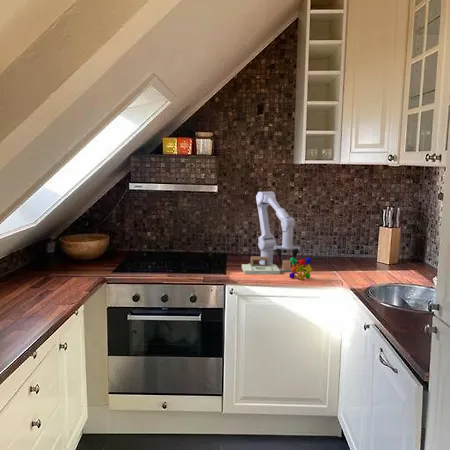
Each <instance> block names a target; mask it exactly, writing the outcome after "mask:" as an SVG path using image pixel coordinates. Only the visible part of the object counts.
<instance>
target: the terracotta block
mask: <svg viewBox="0 0 450 450" xmlns="http://www.w3.org/2000/svg"><path fill="white" fill-rule="evenodd" d="M281 263H282V264H281V268H282V269H283V270H284V271H290V268H292V267H291V264H292V263H291V262H290V259H283V260H281Z"/></svg>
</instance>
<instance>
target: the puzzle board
mask: <svg viewBox="0 0 450 450" xmlns="http://www.w3.org/2000/svg"><path fill="white" fill-rule="evenodd" d="M279 268H280V267H278V265H277V264H274V265H269V263H268V266H266V265H265V264H260V263H259V264H258V263H256V264H254V263H253V266H251V264H250V262H249V263H247V264H243V263H242V264H241V269H242V272H243V274H244V275H281V271H280V270H279Z"/></svg>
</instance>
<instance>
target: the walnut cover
mask: <svg viewBox="0 0 450 450" xmlns="http://www.w3.org/2000/svg"><path fill="white" fill-rule="evenodd" d="M261 260H265V265H266V266H268V258H267V257H261V255H260V256H255V255H254V256H252V255H251V256H250V262H249V263H250V264H251V266H253V264H254V261H261Z"/></svg>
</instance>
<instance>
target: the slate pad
mask: <svg viewBox="0 0 450 450" xmlns="http://www.w3.org/2000/svg"><path fill="white" fill-rule="evenodd" d="M278 268H279V270H280V273H292V271H291V268H292V267H291V268H290V271H284V270H283V269H282V267H281V268H280V267H278Z"/></svg>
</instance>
